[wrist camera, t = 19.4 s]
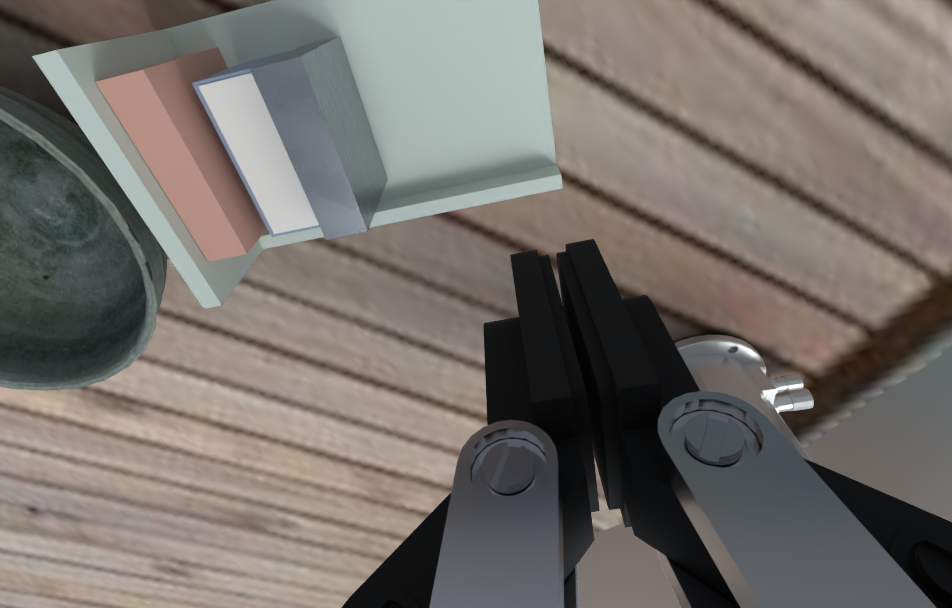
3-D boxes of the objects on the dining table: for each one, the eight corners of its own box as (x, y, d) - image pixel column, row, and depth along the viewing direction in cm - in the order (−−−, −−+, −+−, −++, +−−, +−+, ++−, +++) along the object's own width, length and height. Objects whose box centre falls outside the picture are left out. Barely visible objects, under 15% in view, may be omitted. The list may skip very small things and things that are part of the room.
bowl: (-142, 179, 34) (-338, 246, 25) (-38, -59, 26) (-269, -72, 18) (138, 346, 43) (61, 434, 35) (276, 207, 35) (219, 278, 27)
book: (299, 48, 28) (263, 65, 23) (352, 187, 34) (332, 225, 29) (238, 64, 29) (190, 83, 24) (300, 198, 34) (271, 237, 29)
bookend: (340, 36, 28) (300, 56, 21) (387, 179, 33) (367, 231, 26) (300, 46, 28) (249, 69, 22) (354, 187, 33) (325, 239, 27)
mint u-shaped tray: (528, -68, 26) (555, -85, 18) (556, 173, 34) (583, 235, 26) (154, 32, 29) (32, 56, 21) (261, 234, 36) (203, 308, 29)
